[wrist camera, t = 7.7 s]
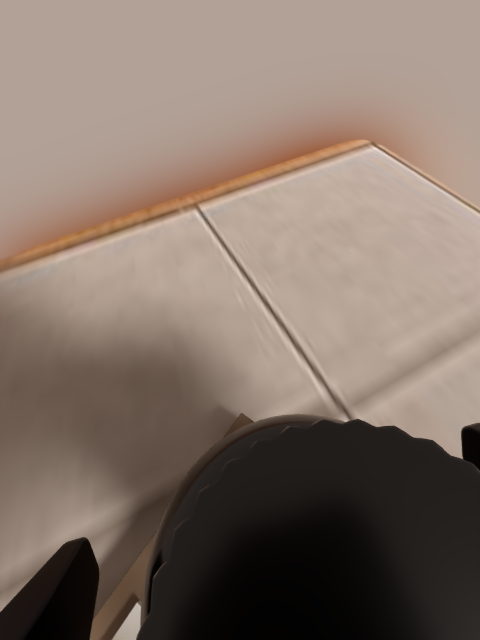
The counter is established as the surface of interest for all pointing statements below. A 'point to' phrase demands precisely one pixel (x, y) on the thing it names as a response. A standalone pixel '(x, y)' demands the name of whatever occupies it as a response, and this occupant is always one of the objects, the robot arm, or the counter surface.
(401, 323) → the counter surface
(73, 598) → the robot arm
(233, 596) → the supplement bottle
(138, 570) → the wooden tray
